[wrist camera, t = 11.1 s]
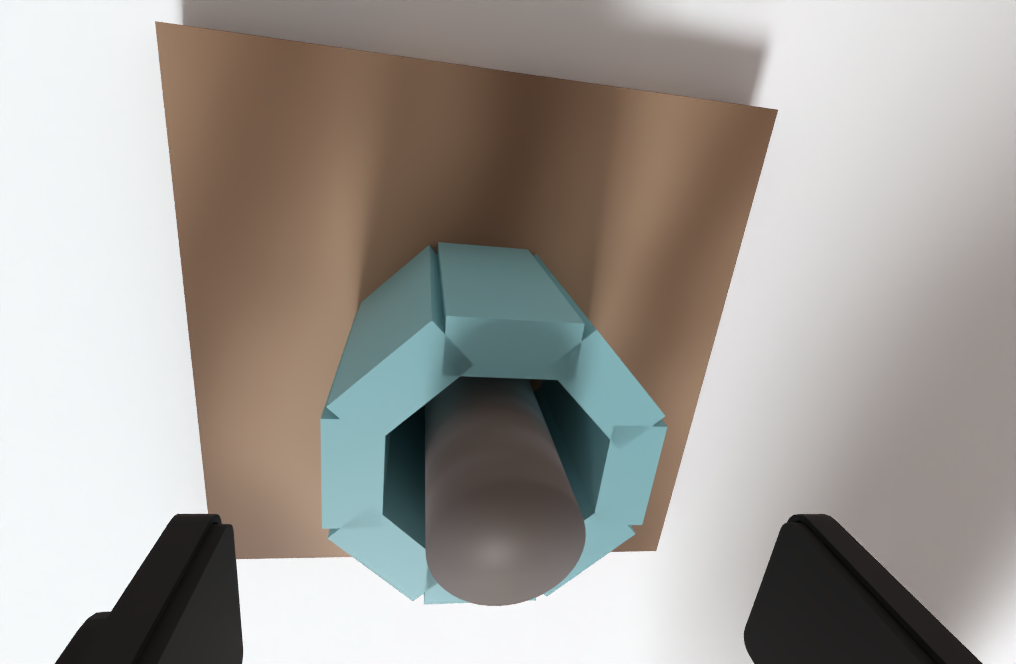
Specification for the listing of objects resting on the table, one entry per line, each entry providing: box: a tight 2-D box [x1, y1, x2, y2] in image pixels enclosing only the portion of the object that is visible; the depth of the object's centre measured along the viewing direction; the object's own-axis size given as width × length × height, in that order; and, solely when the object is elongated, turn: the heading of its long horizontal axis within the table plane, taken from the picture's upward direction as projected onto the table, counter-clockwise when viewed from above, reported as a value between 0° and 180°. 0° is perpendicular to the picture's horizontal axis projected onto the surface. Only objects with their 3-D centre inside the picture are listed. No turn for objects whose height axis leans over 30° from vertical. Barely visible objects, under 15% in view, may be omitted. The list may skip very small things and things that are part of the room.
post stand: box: [155, 21, 778, 606], centre depth 14 cm, size 16×16×10 cm
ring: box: [320, 242, 667, 604], centre depth 14 cm, size 7×7×6 cm
